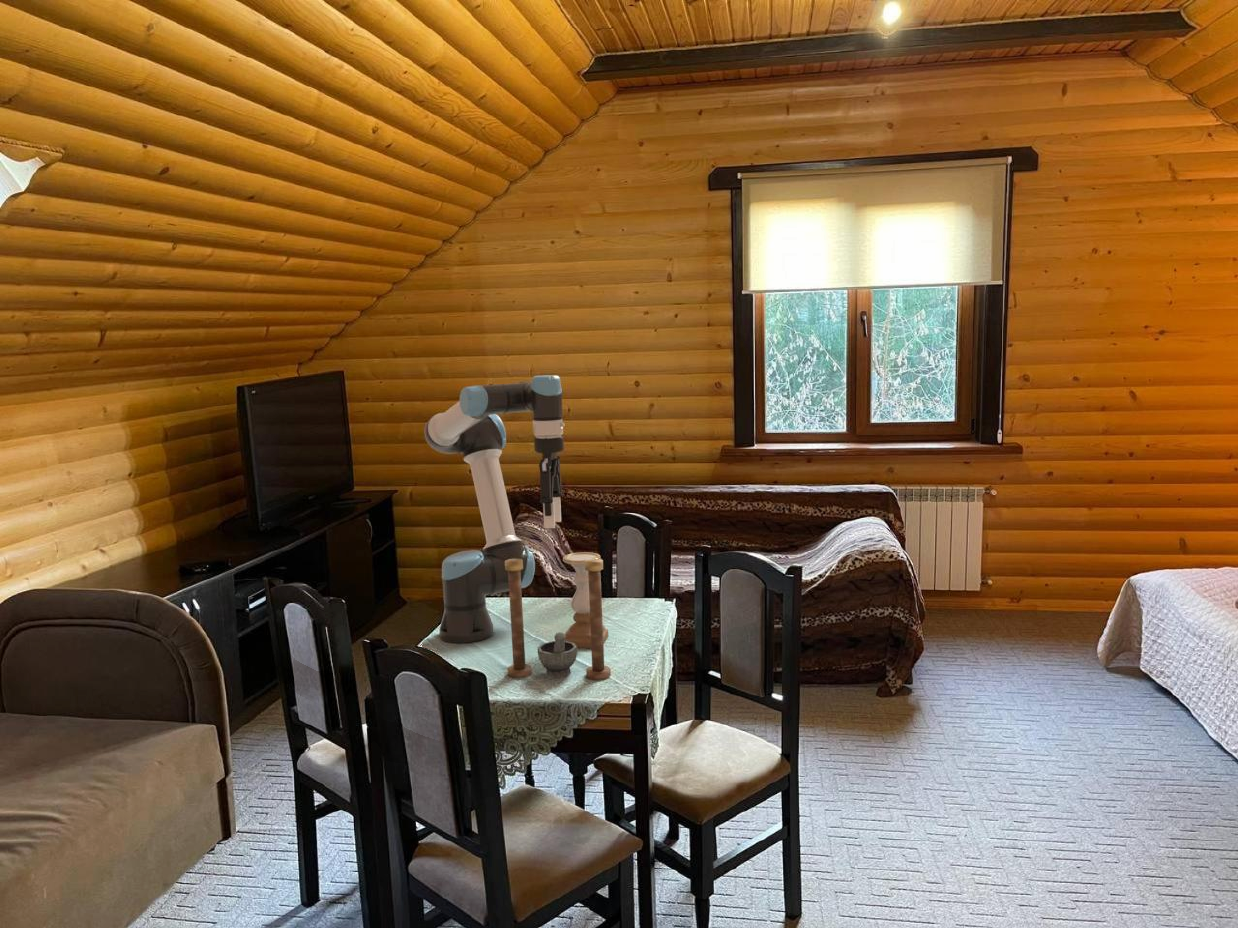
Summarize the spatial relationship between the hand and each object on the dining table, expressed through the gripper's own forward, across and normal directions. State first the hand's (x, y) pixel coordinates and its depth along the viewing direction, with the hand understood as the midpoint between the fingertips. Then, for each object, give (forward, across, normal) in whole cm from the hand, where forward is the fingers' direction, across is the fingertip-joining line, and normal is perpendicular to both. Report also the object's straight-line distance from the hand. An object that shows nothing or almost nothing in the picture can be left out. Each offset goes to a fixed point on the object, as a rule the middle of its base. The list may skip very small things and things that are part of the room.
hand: (552, 524), depth 241 cm
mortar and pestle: (+35, -14, -3) cm, 38 cm away
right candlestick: (+35, -14, -13) cm, 40 cm away
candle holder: (+35, +11, -5) cm, 37 cm away
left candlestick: (+35, -14, +7) cm, 38 cm away
